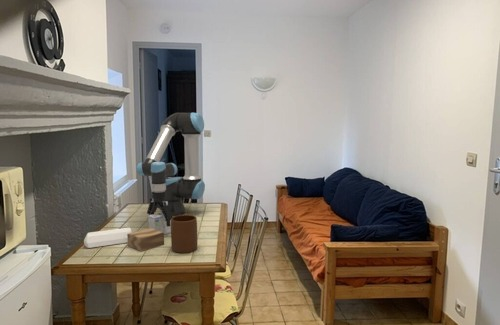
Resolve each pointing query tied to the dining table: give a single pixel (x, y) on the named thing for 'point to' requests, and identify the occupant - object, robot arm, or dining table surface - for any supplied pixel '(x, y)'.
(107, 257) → the dining table surface
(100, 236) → the crystal
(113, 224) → the dining table surface
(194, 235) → the mug
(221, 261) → the dining table surface
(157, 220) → the light bulb box
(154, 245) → the walnut block
